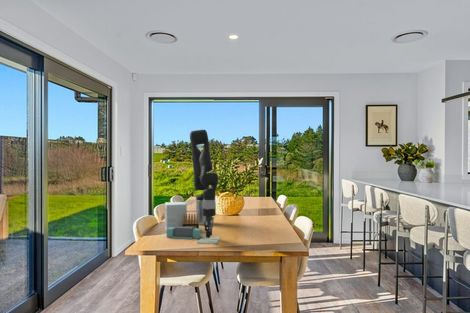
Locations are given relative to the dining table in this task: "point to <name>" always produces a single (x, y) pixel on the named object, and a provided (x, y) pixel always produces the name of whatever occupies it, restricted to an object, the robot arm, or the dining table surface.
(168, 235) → the clamp
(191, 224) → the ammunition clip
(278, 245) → the dining table surface
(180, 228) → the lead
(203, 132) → the robot arm
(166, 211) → the supplement box
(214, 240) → the mat
